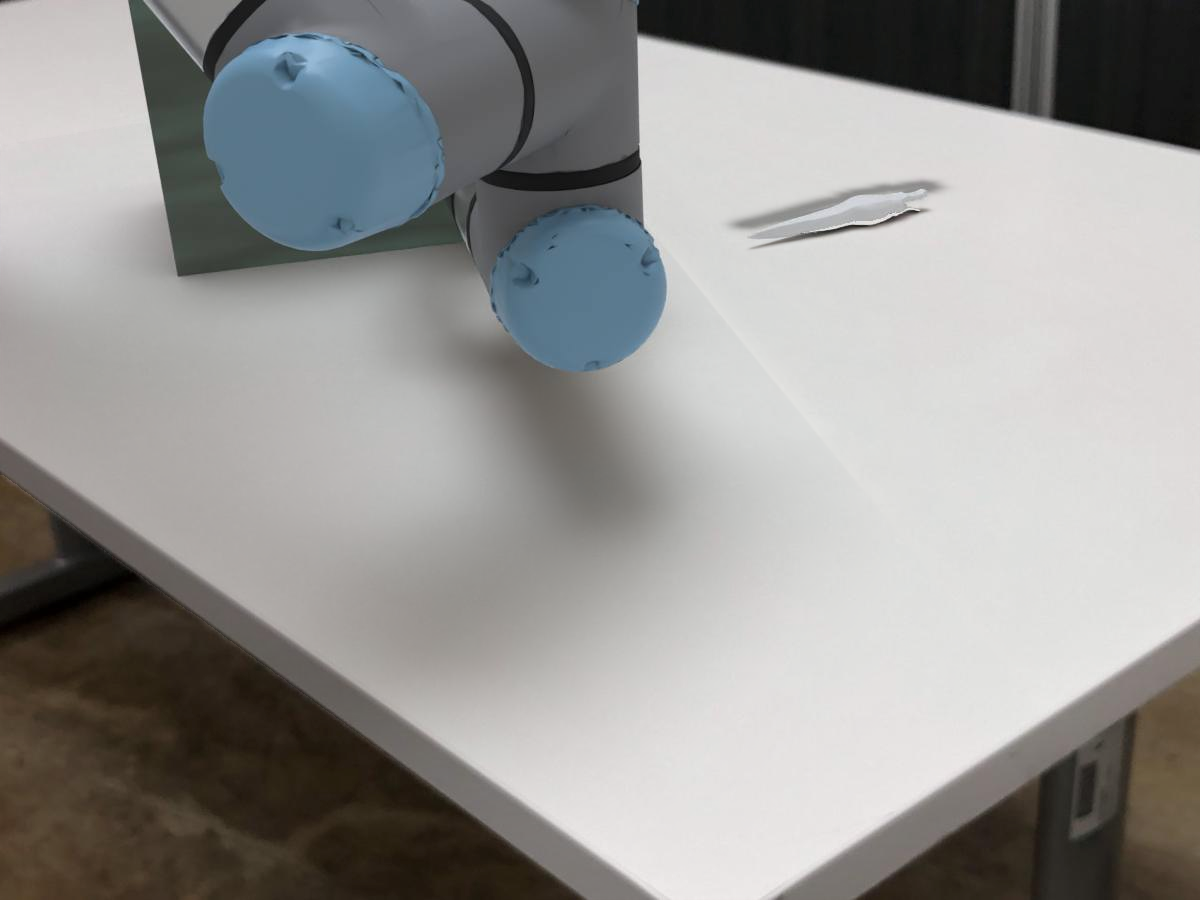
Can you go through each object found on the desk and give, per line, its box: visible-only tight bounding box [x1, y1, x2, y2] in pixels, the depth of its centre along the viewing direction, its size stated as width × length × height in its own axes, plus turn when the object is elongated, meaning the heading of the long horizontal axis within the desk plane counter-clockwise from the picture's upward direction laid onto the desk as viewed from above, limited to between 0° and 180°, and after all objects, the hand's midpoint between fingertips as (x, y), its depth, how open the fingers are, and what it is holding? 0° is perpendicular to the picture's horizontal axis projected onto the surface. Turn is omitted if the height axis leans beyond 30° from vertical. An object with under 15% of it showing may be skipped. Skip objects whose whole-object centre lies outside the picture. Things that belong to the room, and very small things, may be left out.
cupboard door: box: [127, 0, 465, 277], centre depth 98 cm, size 7×22×24 cm, turn 103°
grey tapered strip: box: [747, 188, 928, 240], centre depth 110 cm, size 15×3×2 cm, turn 117°
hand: (457, 91), depth 101 cm, fingers open, 4 cm apart
